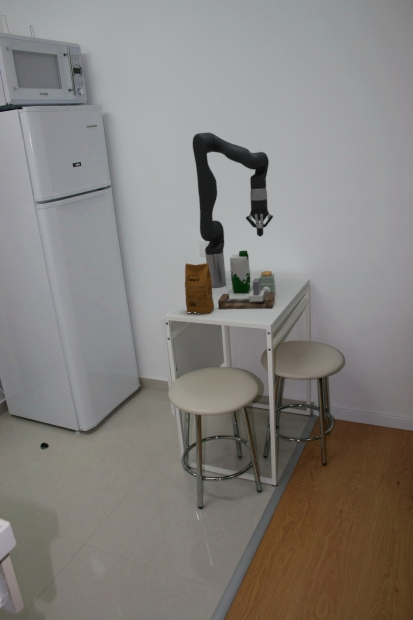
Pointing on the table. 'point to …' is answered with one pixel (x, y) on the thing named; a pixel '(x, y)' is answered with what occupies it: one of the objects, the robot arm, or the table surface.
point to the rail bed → (245, 302)
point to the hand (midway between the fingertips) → (260, 236)
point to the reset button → (266, 273)
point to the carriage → (256, 291)
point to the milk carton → (240, 272)
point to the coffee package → (198, 288)
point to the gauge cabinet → (267, 284)
